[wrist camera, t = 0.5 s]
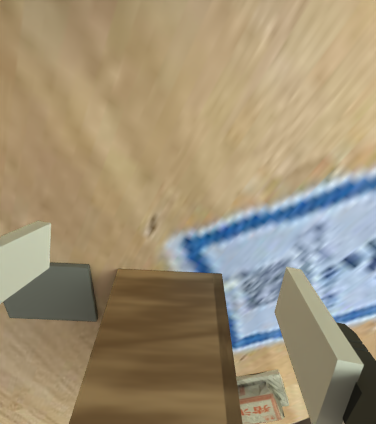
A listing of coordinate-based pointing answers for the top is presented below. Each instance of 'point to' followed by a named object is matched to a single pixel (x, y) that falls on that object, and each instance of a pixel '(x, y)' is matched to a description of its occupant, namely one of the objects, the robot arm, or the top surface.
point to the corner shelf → (161, 354)
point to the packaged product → (261, 397)
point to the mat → (56, 295)
